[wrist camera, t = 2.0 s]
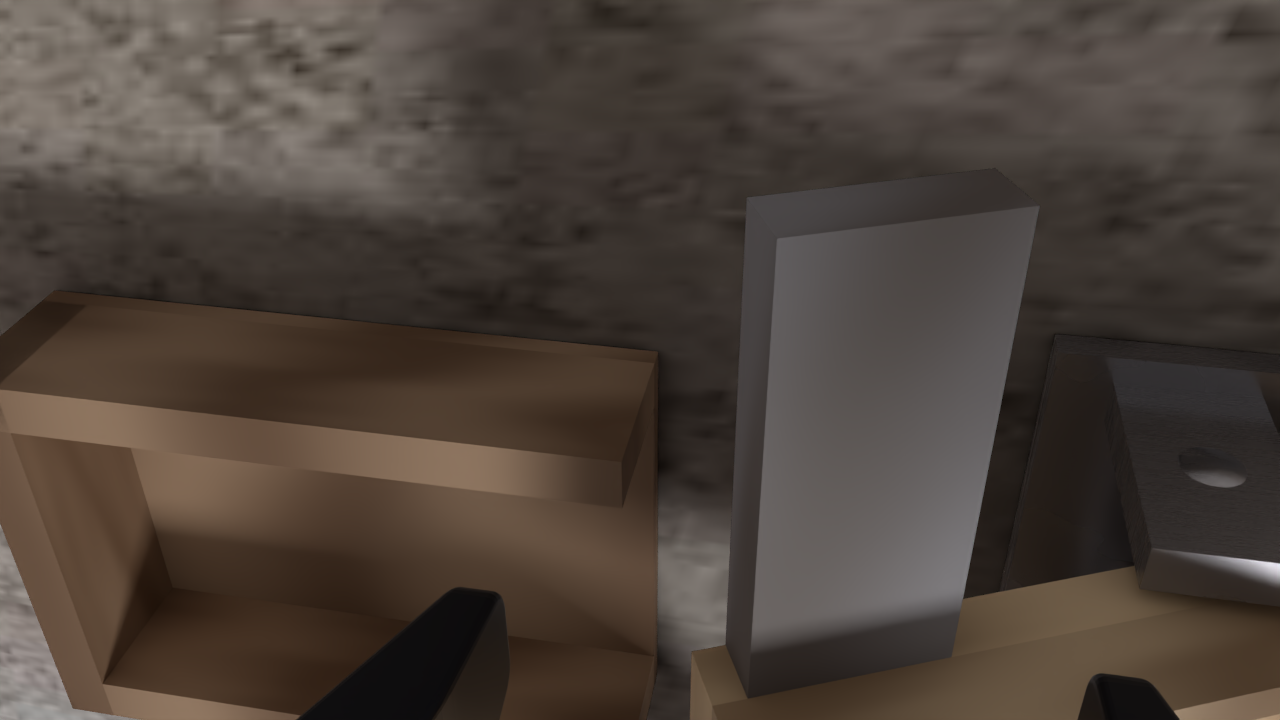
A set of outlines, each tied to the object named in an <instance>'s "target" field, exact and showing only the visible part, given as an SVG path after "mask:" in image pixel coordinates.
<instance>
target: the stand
mask: <svg viewBox="0 0 1280 720" xmlns="http://www.w3.org/2000/svg"><path fill="white" fill-rule="evenodd" d="M1131 566H1135V571H1136V575H1137V580H1138V585H1139V589H1143V590H1151V591H1159V592H1167V593H1174V594H1182V595H1190V596H1198V597H1206V598H1214V599H1222V600H1230V601H1238V602H1246V603H1254V604H1262V605H1270V606H1278V607H1280V355H1274V354H1264V353H1253V352H1242V351H1232V350H1221V349H1210V348H1200V347H1189V346H1178V345H1168V344H1157V343H1146V342H1136V341H1125V340H1114V339H1104V338H1093V337H1082V336H1072V335H1061V334H1055V337H1054V341H1053V346H1052V350H1051V355H1050V360H1049V364H1048V369H1047V373H1046V378H1045V383H1044V387H1043V392H1042V396H1041V401H1040V406H1039V410H1038V415H1037V419H1036V424H1035V429H1034V433H1033V438H1032V442H1031V447H1030V452H1029V456H1028V461H1027V465H1026V470H1025V475H1024V479H1023V484H1022V488H1021V493H1020V497H1019V502H1018V507H1017V511H1016V516H1015V520H1014V525H1013V530H1012V534H1011V539H1010V543H1009V548H1008V553H1007V557H1006V562H1005V566H1004V571H1003V576H1002V580H1001V585H1000V589H999V592H1002V591H1007V590H1012V589H1017V588H1023V587H1028V586H1033V585H1038V584H1043V583H1048V582H1053V581H1059V580H1064V579H1069V578H1074V577H1079V576H1084V575H1090V574H1095V573H1100V572H1105V571H1110V570H1115V569H1121V568H1126V567H1131Z"/></svg>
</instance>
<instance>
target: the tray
mask: <svg viewBox="0 0 1280 720" xmlns="http://www.w3.org/2000/svg"><path fill="white" fill-rule="evenodd" d="M0 524H1V527H2V529H3V532H4V534H5V537H6V539H7V542H8V544H9V547H10V549H11V552H12V555H13V557H14V560H15V562H16V565H17V567H18V570H19V572H20V575H21V577H22V580H23V583H24V585H25V588H26V590H27V593H28V595H29V598H30V600H31V603H32V605H33V608H34V611H35V613H36V616H37V618H38V621H39V623H40V626H41V628H42V631H43V634H44V636H45V639H46V641H47V644H48V646H49V649H50V651H51V654H52V656H53V659H54V662H55V664H56V667H57V669H58V672H59V674H60V677H61V679H62V682H63V684H64V687H65V690H66V692H67V695H68V697H69V700H70V702H71V705H72V707H73V708H74V709H80V710H86V711H92V712H98V713H104V714H110V715H117V716H123V717H129V718H135V719H141V720H296V719H297V718H299V717H300V716H301V715H302V714H303V713H304V712H306V711H307V710H308V709H309V708H310V707H311V706H313V705H314V704H315V703H316V702H317V701H319V700H320V699H321V698H322V697H323V696H324V695H326V694H327V693H328V692H329V691H330V690H331V689H333V688H334V687H335V686H336V685H337V684H339V683H340V682H341V681H342V680H343V679H344V678H346V677H347V676H348V675H349V674H350V673H352V672H353V671H354V670H355V669H356V668H357V667H359V666H360V665H361V664H362V663H363V662H364V661H366V660H367V659H368V658H369V657H370V656H372V655H373V654H374V653H375V652H376V651H377V650H379V649H380V648H381V647H382V646H383V645H384V644H386V643H387V642H388V641H389V640H390V639H392V638H393V637H394V636H395V635H396V634H397V633H399V632H400V631H401V630H402V629H403V628H404V627H406V626H407V625H408V624H409V623H410V622H412V621H413V620H414V619H415V618H416V617H417V616H419V615H420V614H421V613H422V612H423V611H425V610H426V609H427V608H428V607H429V606H430V605H432V604H433V603H434V602H435V601H436V600H437V599H439V598H440V597H441V596H442V595H443V594H445V593H446V592H447V591H448V590H450V589H453V588H455V587H466V588H474V589H481V590H489V591H495V592H497V593H499V594H500V595H501V596H502V598H503V601H504V604H505V612H506V622H507V633H508V643H509V653H510V675H509V682H508V688H507V692H506V696H505V700H504V704H503V708H502V712H501V716H500V720H646V719H647V715H648V710H649V706H650V702H651V698H652V694H653V689H654V685H655V681H656V677H657V569H658V352H657V351H647V350H637V349H627V348H617V347H607V346H597V345H587V344H578V343H568V342H558V341H548V340H538V339H528V338H518V337H508V336H499V335H489V334H479V333H469V332H459V331H449V330H439V329H429V328H419V327H410V326H400V325H390V324H380V323H370V322H360V321H350V320H340V319H331V318H321V317H311V316H301V315H291V314H281V313H271V312H261V311H252V310H242V309H232V308H222V307H212V306H202V305H192V304H182V303H173V302H163V301H153V300H143V299H133V298H123V297H113V296H103V295H94V294H84V293H74V292H64V291H53V292H52V293H51V294H50V295H49V296H47V297H46V298H45V299H44V300H43V301H42V302H40V303H39V304H38V305H37V306H36V307H34V308H33V309H32V310H31V311H30V312H29V313H27V314H26V315H25V316H24V317H23V318H21V319H20V320H19V321H18V322H17V323H16V324H14V325H13V326H12V327H11V328H10V329H8V330H7V331H6V332H5V333H4V334H3V335H1V336H0Z"/></svg>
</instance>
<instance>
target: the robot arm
mask: <svg viewBox="0 0 1280 720" xmlns="http://www.w3.org/2000/svg"><path fill="white" fill-rule="evenodd" d="M509 675H510V653H509V643H508V633H507V622H506V612H505V604H504V601H503V598H502V596H501V595H500V594H499V593H497V592H495V591H489V590H481V589H474V588H466V587H455V588H453V589H450V590H448V591H447V592H446V593H445V594H443V595H442V596H441V597H440V598H439V599H437V600H436V601H435V602H434V603H433V604H432V605H430V606H429V607H428V608H427V609H426V610H425V611H423V612H422V613H421V614H420V615H419V616H417V617H416V618H415V619H414V620H413V621H412V622H410V623H409V624H408V625H407V626H406V627H404V628H403V629H402V630H401V631H400V632H399V633H397V634H396V635H395V636H394V637H393V638H392V639H390V640H389V641H388V642H387V643H386V644H384V645H383V646H382V647H381V648H380V649H379V650H377V651H376V652H375V653H374V654H373V655H372V656H370V657H369V658H368V659H367V660H366V661H364V662H363V663H362V664H361V665H360V666H359V667H357V668H356V669H355V670H354V671H353V672H352V673H350V674H349V675H348V676H347V677H346V678H344V679H343V680H342V681H341V682H340V683H339V684H337V685H336V686H335V687H334V688H333V689H331V690H330V691H329V692H328V693H327V694H326V695H324V696H323V697H322V698H321V699H320V700H319V701H317V702H316V703H315V704H314V705H313V706H311V707H310V708H309V709H308V710H307V711H306V712H304V713H303V714H302V715H301V716H300V717H299V718H297V719H296V720H500V716H501V712H502V708H503V704H504V700H505V696H506V692H507V688H508V682H509ZM1077 720H1180V719H1179V718H1178V716H1177V715H1176V714H1175V712H1174V711H1173V710H1172V708H1171V707H1170V706H1169V704H1168V703H1167V702H1166V700H1165V699H1164V698H1163V696H1162V695H1161V694H1160V692H1159V691H1158V690H1157V689H1156V687H1155V686H1154V685H1153V684H1151V683H1150V682H1149V681H1147V680H1145V679H1142V678H1135V677H1127V676H1120V675H1113V674H1105V673H1099V674H1096V675H1094V676H1092V678H1091V679H1090V681H1089V682H1088V685H1087V688H1086V691H1085V695H1084V698H1083V702H1082V705H1081V708H1080V712H1079V715H1078V719H1077Z"/></svg>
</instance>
